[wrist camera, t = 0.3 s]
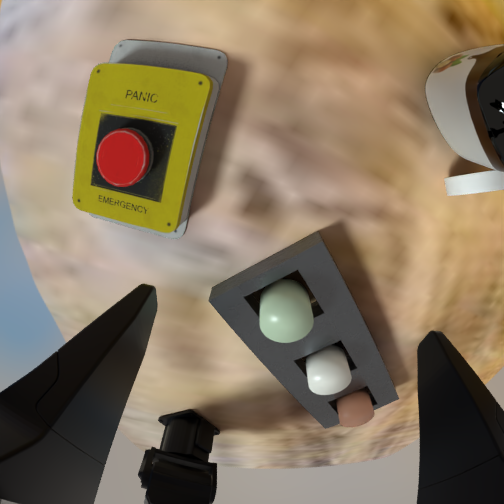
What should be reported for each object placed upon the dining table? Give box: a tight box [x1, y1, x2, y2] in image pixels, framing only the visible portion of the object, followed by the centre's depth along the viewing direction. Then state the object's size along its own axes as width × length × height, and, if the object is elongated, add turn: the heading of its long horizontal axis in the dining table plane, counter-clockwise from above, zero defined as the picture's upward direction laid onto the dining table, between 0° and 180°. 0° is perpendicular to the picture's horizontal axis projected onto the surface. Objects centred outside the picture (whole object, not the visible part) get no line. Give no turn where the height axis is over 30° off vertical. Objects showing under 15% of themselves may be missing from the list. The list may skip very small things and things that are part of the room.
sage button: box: [260, 279, 314, 343], centre depth 23 cm, size 4×4×3 cm
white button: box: [306, 345, 352, 395], centre depth 26 cm, size 4×4×3 cm
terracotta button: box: [336, 388, 374, 427], centre depth 29 cm, size 4×4×3 cm
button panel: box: [209, 231, 399, 429], centre depth 27 cm, size 10×24×2 cm, turn 32°
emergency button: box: [72, 40, 228, 239], centre depth 18 cm, size 9×4×15 cm
